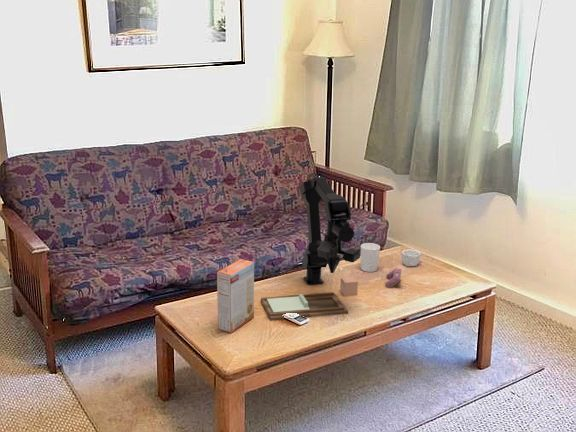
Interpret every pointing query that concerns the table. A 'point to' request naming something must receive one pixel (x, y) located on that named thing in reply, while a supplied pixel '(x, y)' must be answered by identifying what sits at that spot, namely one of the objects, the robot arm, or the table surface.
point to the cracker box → (235, 295)
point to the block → (348, 286)
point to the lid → (288, 304)
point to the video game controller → (393, 277)
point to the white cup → (369, 257)
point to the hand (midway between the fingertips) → (332, 272)
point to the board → (311, 306)
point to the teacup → (410, 257)
